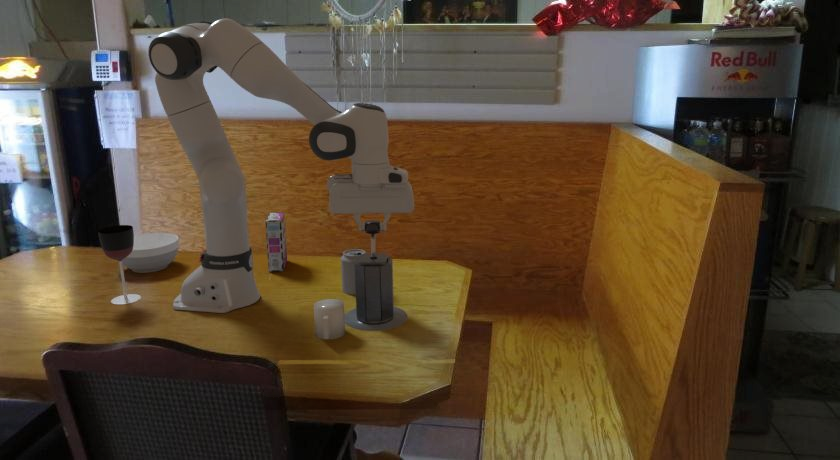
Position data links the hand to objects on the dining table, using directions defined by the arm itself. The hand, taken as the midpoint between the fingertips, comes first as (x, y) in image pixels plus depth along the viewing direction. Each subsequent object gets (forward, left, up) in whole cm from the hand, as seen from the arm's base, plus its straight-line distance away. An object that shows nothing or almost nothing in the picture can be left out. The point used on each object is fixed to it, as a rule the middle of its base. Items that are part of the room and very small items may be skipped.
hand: (372, 230), depth 148 cm
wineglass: (-70, +15, -24) cm, 75 cm away
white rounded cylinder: (-10, -10, -23) cm, 27 cm away
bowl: (-75, +42, -24) cm, 89 cm away
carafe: (0, +1, -23) cm, 23 cm away
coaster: (0, 0, -23) cm, 23 cm away
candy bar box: (-34, +42, -24) cm, 59 cm away
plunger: (0, 0, -11) cm, 11 cm away
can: (-7, +19, -24) cm, 31 cm away
